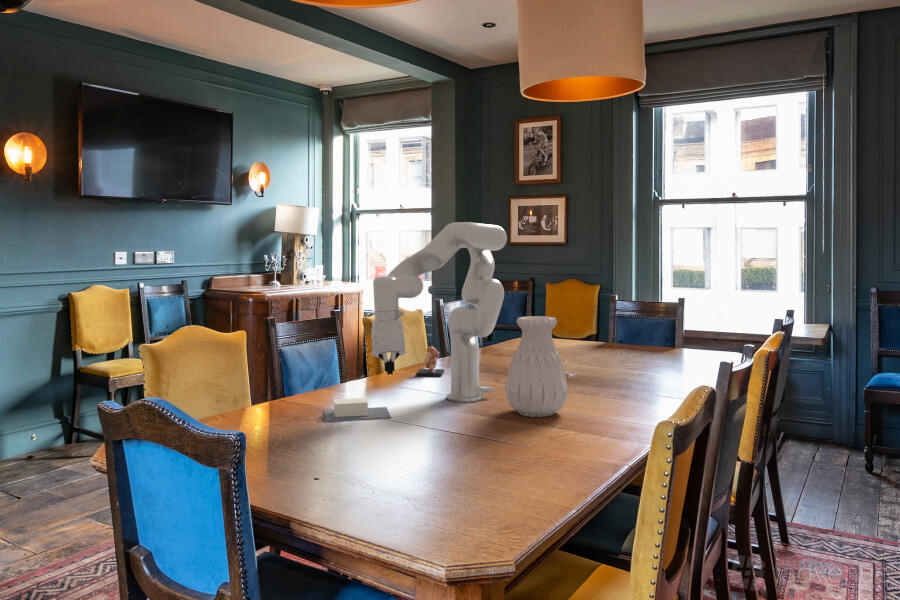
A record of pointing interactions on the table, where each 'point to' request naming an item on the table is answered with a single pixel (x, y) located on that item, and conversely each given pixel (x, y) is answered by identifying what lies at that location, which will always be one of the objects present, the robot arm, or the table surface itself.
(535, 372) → the vase
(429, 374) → the figurine
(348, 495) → the table surface
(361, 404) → the cream block
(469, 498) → the table surface
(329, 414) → the slate mat
